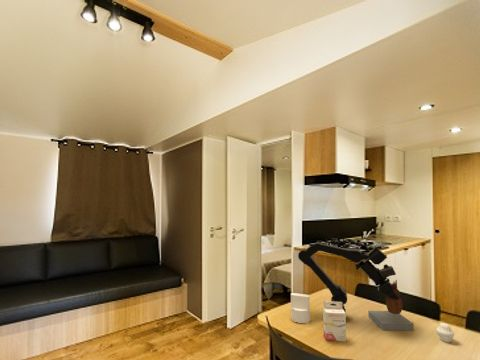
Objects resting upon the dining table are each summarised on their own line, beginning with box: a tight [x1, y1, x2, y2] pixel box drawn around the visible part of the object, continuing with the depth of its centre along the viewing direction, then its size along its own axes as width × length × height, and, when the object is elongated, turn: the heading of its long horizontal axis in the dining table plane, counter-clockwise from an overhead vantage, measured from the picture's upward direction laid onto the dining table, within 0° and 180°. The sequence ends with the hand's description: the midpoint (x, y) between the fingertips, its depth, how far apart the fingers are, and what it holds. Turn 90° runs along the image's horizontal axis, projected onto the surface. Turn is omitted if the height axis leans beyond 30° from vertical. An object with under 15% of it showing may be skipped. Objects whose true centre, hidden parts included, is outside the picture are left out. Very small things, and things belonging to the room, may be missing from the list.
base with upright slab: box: [290, 292, 311, 324], centre depth 137 cm, size 9×9×12 cm
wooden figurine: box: [385, 279, 404, 314], centre depth 131 cm, size 7×6×15 cm
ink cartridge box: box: [322, 300, 347, 342], centre depth 119 cm, size 9×5×15 cm, turn 84°
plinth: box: [367, 310, 414, 331], centre depth 133 cm, size 14×14×3 cm
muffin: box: [436, 322, 455, 343], centre depth 117 cm, size 6×6×7 cm
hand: (397, 297), depth 130 cm, fingers closed on wooden figurine, 4 cm apart
